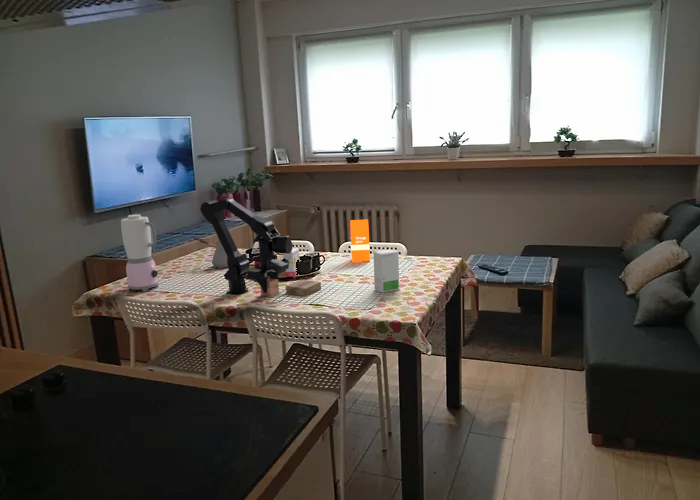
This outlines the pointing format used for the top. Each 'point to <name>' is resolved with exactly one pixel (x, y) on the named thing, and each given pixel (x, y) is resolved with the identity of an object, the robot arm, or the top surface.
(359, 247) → the orange juice
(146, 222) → the blender
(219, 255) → the coffee pot
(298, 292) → the tan square slab
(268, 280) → the terracotta cube
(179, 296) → the top surface
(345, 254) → the top surface
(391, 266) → the skincare box
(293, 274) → the ink box
